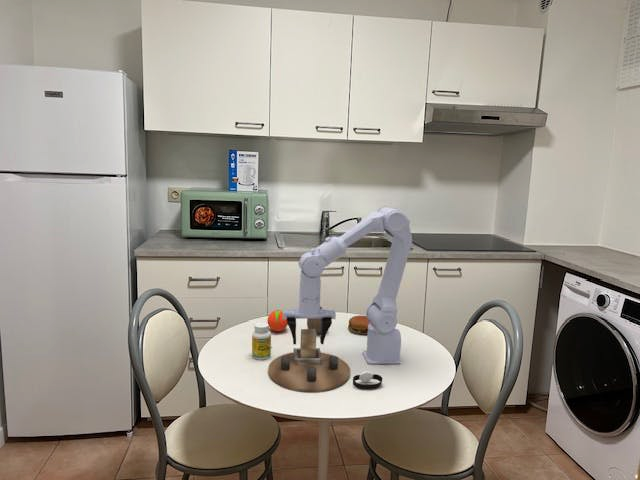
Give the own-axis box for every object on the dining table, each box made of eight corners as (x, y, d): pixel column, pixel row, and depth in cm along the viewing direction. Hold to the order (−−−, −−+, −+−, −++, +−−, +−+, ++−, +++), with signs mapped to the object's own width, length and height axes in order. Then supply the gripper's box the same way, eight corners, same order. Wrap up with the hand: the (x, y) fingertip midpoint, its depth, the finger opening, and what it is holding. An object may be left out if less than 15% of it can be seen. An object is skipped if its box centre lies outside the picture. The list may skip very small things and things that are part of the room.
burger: (343, 327, 160) (344, 314, 159) (367, 324, 163) (368, 311, 163) (356, 338, 151) (357, 324, 150) (381, 335, 154) (382, 321, 154)
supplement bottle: (265, 351, 138) (266, 320, 136) (273, 358, 134) (274, 326, 132) (248, 354, 135) (249, 323, 133) (256, 361, 131) (257, 329, 129)
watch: (379, 381, 123) (379, 368, 122) (384, 390, 118) (385, 376, 118) (350, 382, 121) (351, 369, 121) (354, 391, 117) (355, 378, 116)
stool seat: (343, 354, 138) (343, 341, 137) (356, 391, 116) (357, 376, 116) (268, 354, 135) (268, 341, 135) (268, 393, 114) (268, 378, 113)
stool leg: (313, 355, 134) (315, 329, 132) (315, 361, 130) (316, 334, 128) (300, 355, 133) (300, 329, 132) (301, 361, 129) (302, 334, 128)
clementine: (287, 336, 149) (287, 315, 148) (265, 335, 149) (265, 314, 148) (288, 327, 157) (289, 307, 156) (268, 326, 157) (268, 306, 156)
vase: (327, 336, 150) (328, 311, 149) (306, 336, 150) (307, 310, 149) (327, 329, 157) (328, 304, 156) (307, 328, 157) (307, 303, 156)
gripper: (334, 292, 133) (331, 337, 135) (283, 291, 131) (281, 337, 134) (337, 299, 126) (335, 347, 129) (283, 299, 124) (282, 347, 127)
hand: (308, 342), depth 131 cm, fingers open, 7 cm apart
